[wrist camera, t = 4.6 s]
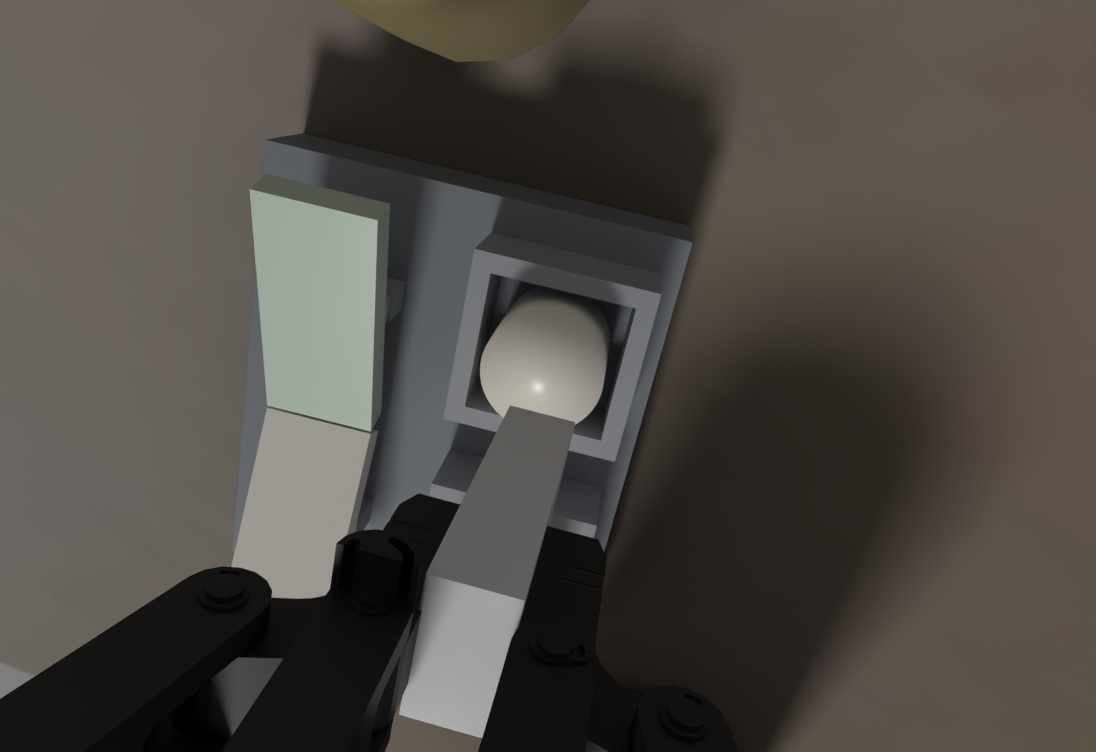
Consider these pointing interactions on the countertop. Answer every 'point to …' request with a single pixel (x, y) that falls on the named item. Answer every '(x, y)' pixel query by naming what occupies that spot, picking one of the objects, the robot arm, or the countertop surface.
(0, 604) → the countertop surface
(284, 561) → the block
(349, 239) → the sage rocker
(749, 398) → the countertop surface
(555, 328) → the ivory button
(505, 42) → the squeeze bottle
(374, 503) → the panel
